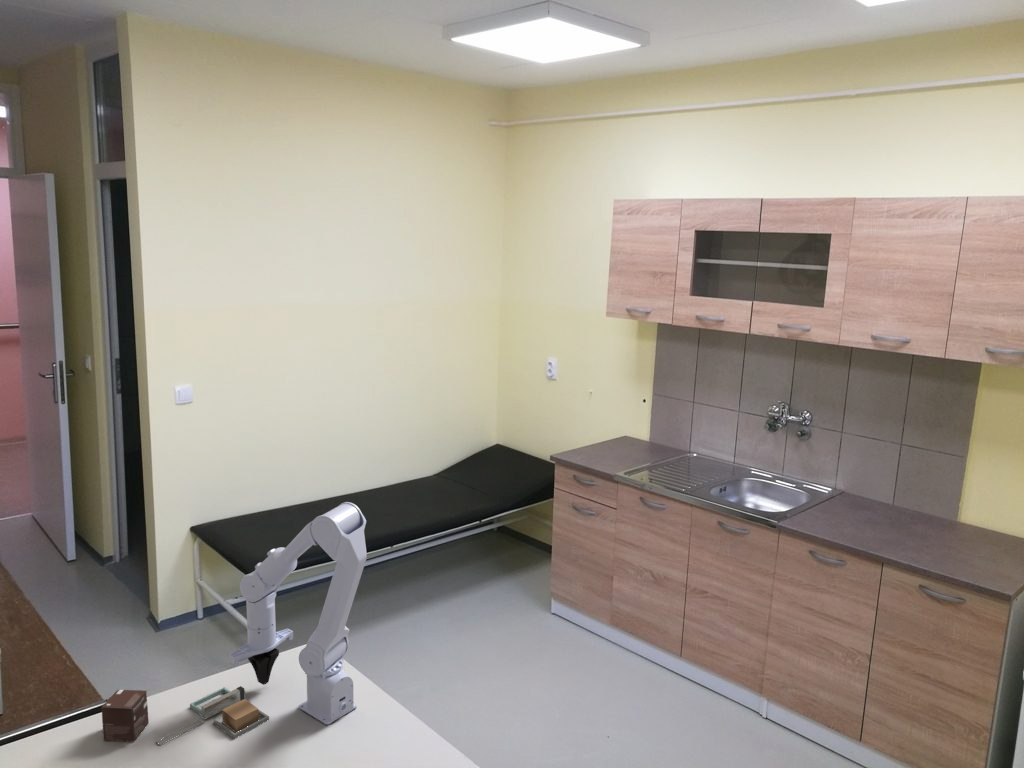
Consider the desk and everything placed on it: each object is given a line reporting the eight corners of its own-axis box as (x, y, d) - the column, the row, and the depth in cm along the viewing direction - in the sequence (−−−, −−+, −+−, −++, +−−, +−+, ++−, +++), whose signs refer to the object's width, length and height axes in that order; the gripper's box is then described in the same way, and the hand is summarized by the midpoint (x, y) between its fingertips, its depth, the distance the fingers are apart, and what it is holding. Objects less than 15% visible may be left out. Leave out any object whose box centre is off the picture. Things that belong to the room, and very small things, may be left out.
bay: (236, 698, 160) (236, 695, 160) (202, 715, 154) (202, 712, 153) (224, 690, 162) (224, 687, 162) (190, 707, 156) (190, 703, 156)
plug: (258, 722, 153) (258, 708, 152) (236, 733, 149) (235, 720, 148) (245, 712, 156) (244, 698, 155) (222, 723, 152) (222, 709, 151)
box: (133, 743, 145) (131, 708, 144) (102, 741, 145) (100, 707, 144) (149, 723, 151) (147, 690, 150) (119, 722, 151) (117, 688, 150)
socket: (269, 719, 153) (268, 716, 153) (185, 766, 139) (185, 762, 139) (238, 699, 159) (238, 696, 159) (155, 742, 145) (155, 738, 145)
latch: (244, 699, 159) (244, 688, 158) (205, 719, 152) (204, 708, 151) (241, 696, 160) (240, 686, 159) (201, 717, 152) (201, 705, 152)
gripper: (278, 605, 168) (280, 661, 171) (219, 630, 157) (222, 689, 160) (298, 615, 164) (299, 672, 167) (239, 641, 153) (241, 702, 155)
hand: (263, 681), depth 163 cm, fingers closed
